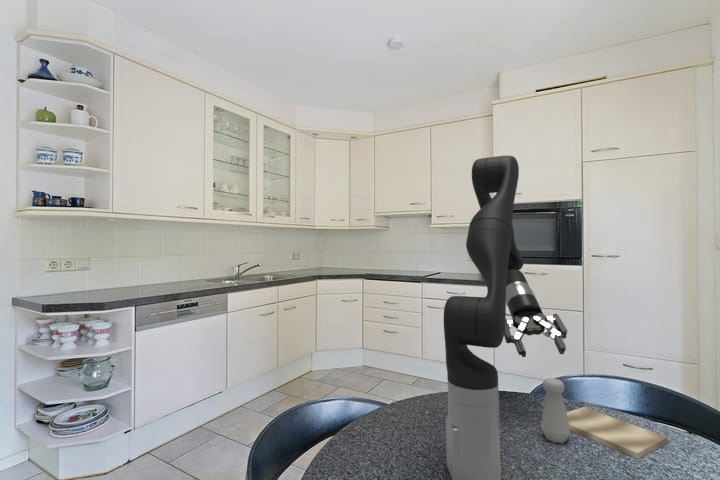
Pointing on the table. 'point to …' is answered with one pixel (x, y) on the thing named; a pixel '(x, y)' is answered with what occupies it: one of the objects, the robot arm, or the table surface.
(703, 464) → the table surface
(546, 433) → the salt shaker
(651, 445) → the birch board
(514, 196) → the robot arm
